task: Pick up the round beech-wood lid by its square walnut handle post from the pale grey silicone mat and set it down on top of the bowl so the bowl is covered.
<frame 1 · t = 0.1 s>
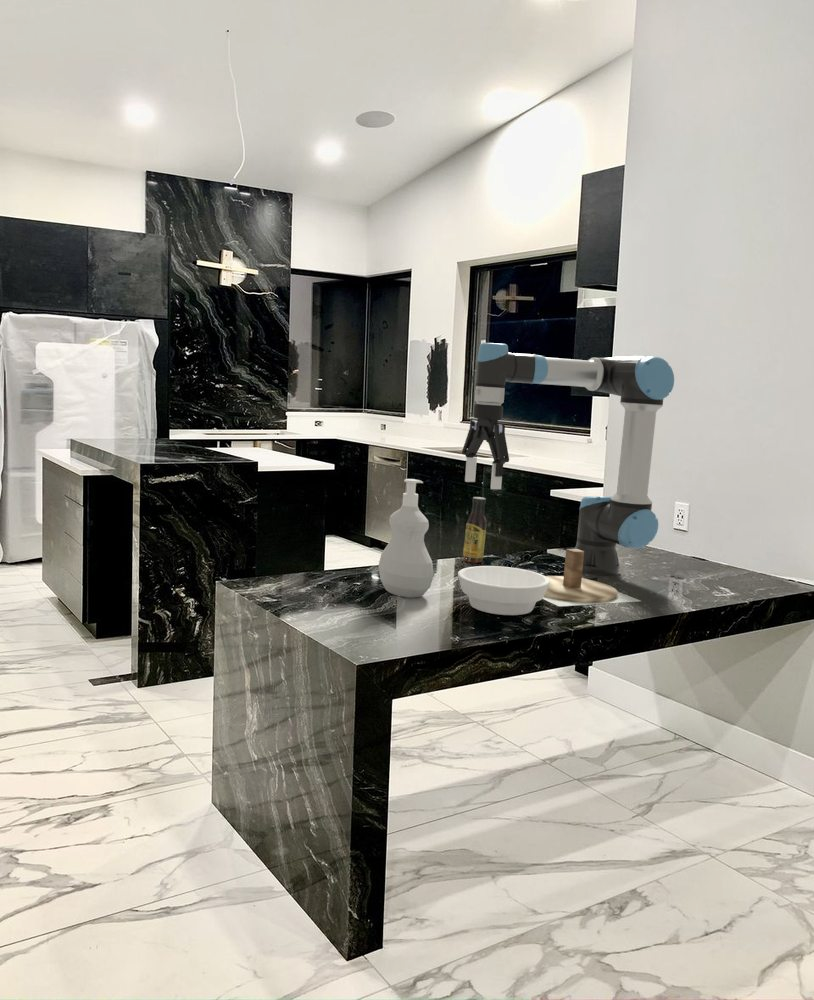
hand: (482, 485, 226), 28 cm above the countertop, fingers open, 13 cm apart
mat: (571, 593, 232), on the countertop
sauce bottle: (473, 562, 265), on the countertop
soap bottle: (404, 594, 220), on the countertop
bowl: (500, 610, 212), on the countertop
lid: (571, 590, 232), point 1 cm above the countertop, touching mat
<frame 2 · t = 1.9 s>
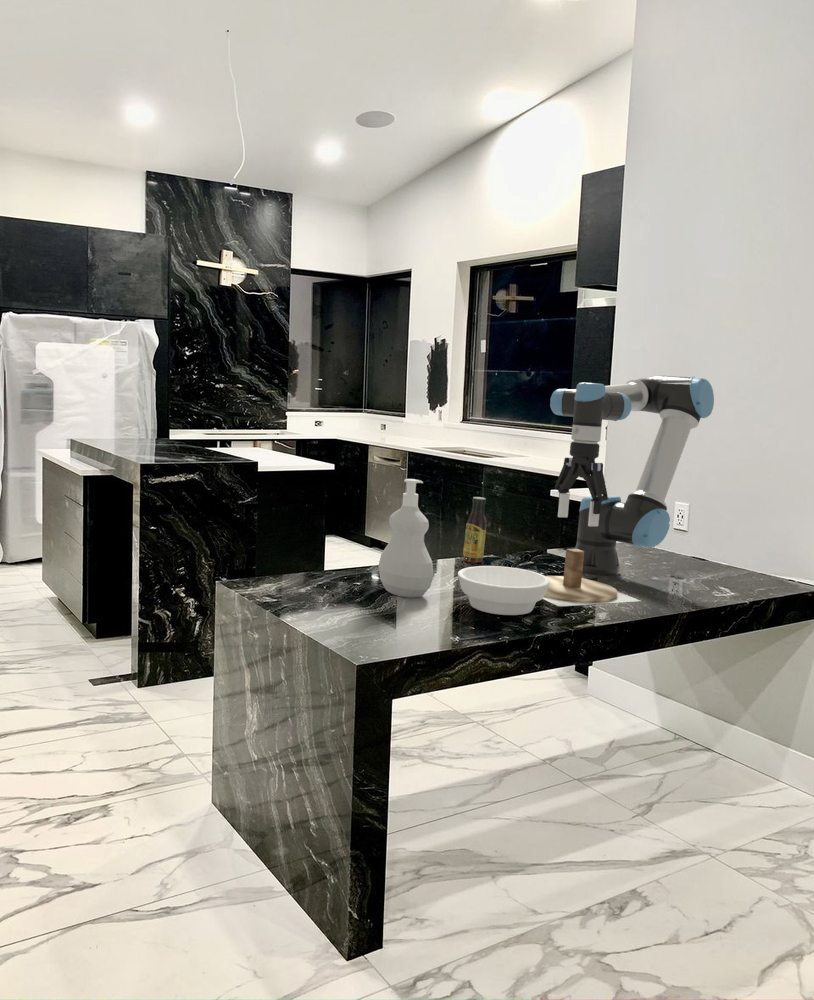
hand: (577, 521, 229), 20 cm above the countertop, fingers open, 13 cm apart
nothing on the countertop moved.
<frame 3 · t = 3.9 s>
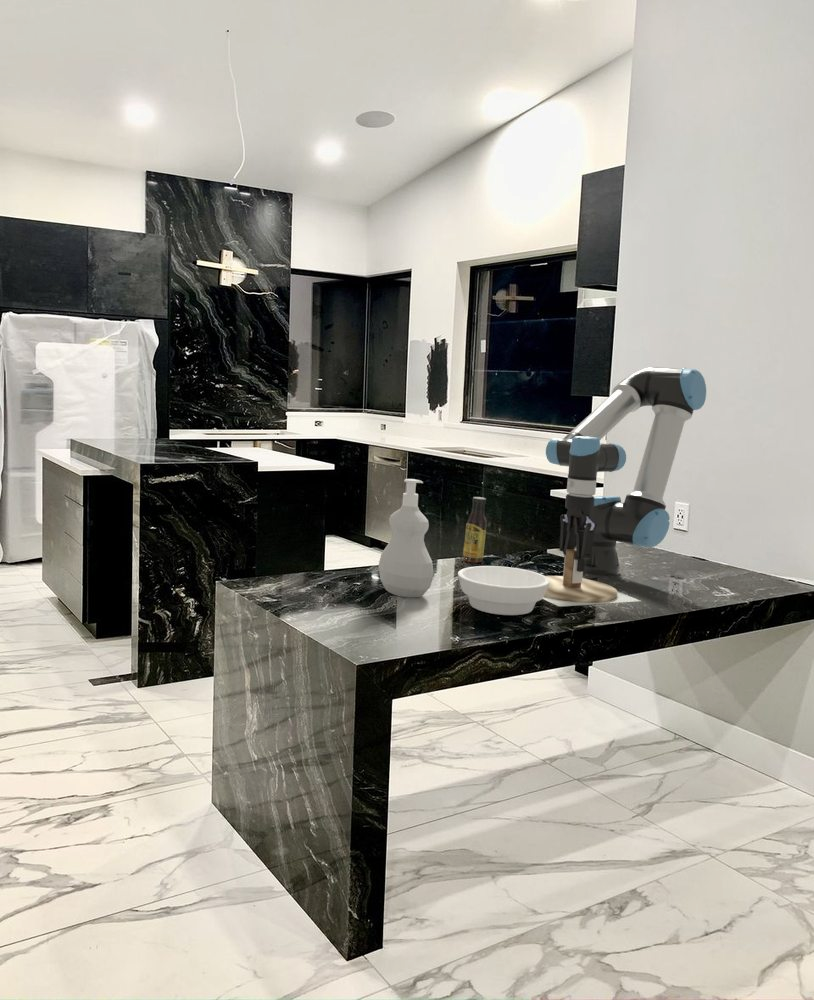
hand: (572, 580, 232), 3 cm above the countertop, fingers closed on lid, 3 cm apart
lid: (571, 590, 232), point 1 cm above the countertop, touching gripper, mat
everything else where it was.
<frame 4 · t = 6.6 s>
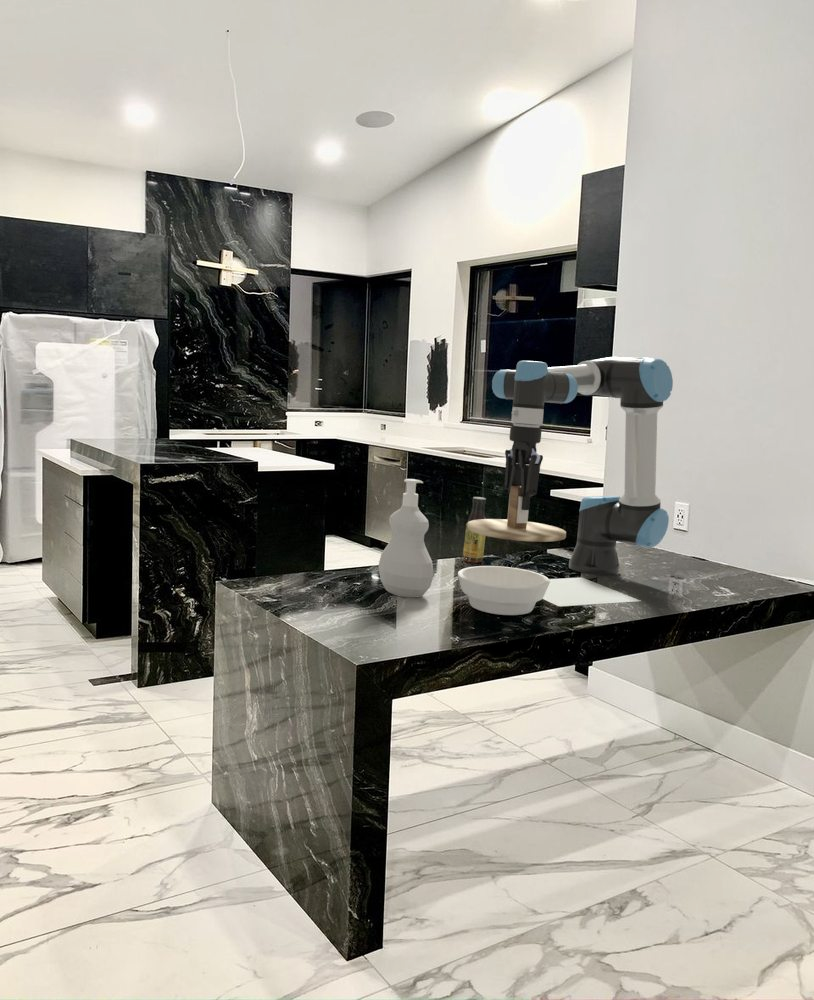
hand: (517, 521, 211), 22 cm above the countertop, fingers closed on lid, 3 cm apart
lid: (516, 532, 211), point 19 cm above the countertop, touching gripper
everything else where it was.
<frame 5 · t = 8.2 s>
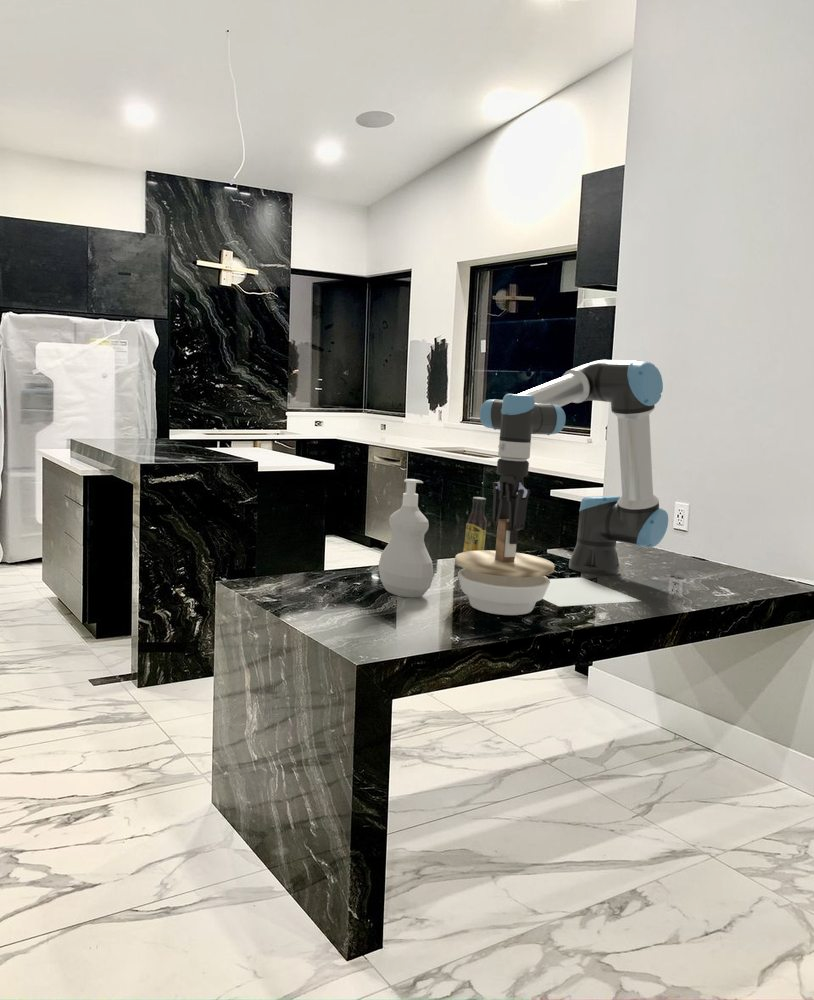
hand: (505, 554, 210), 14 cm above the countertop, fingers closed on lid, 3 cm apart
lid: (504, 565, 210), point 11 cm above the countertop, touching gripper
everything else where it was.
when the fingers open (12 cm above the countertop, at t = 9.4 s): lid drops 1 cm, resting on bowl.
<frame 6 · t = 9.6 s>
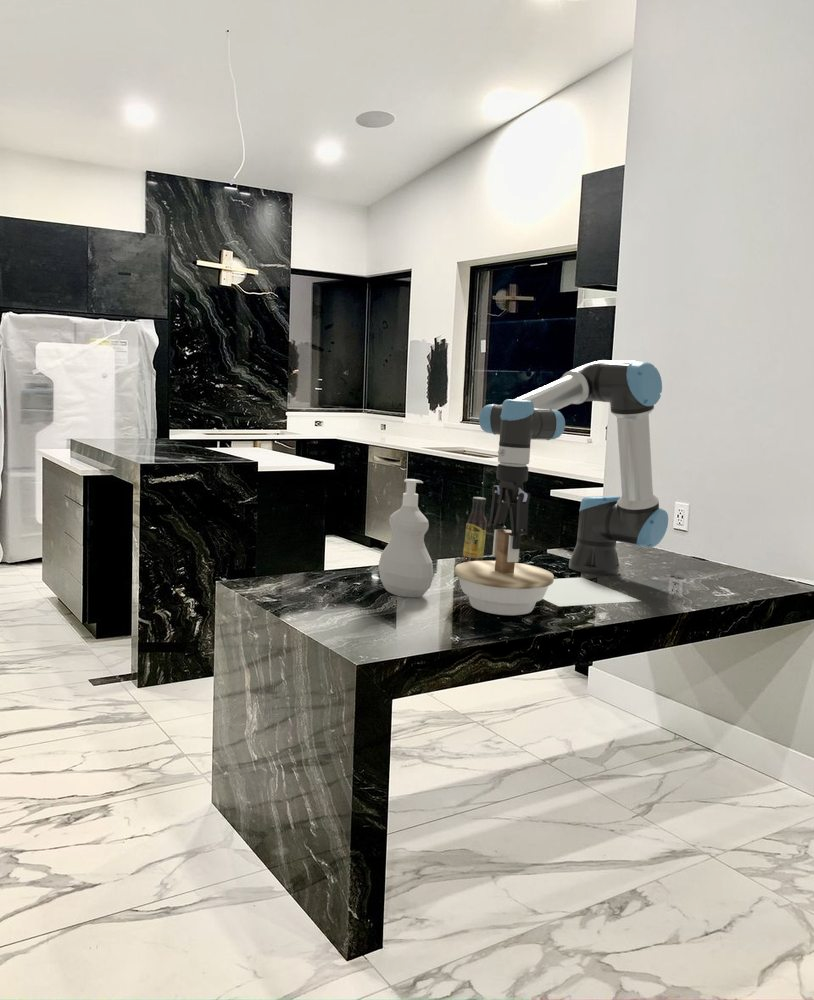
hand: (505, 558, 210), 13 cm above the countertop, fingers open, 6 cm apart
bowl: (501, 610, 212), on the countertop, touching lid
lid: (503, 576, 210), point 8 cm above the countertop, touching bowl
everything else where it was.
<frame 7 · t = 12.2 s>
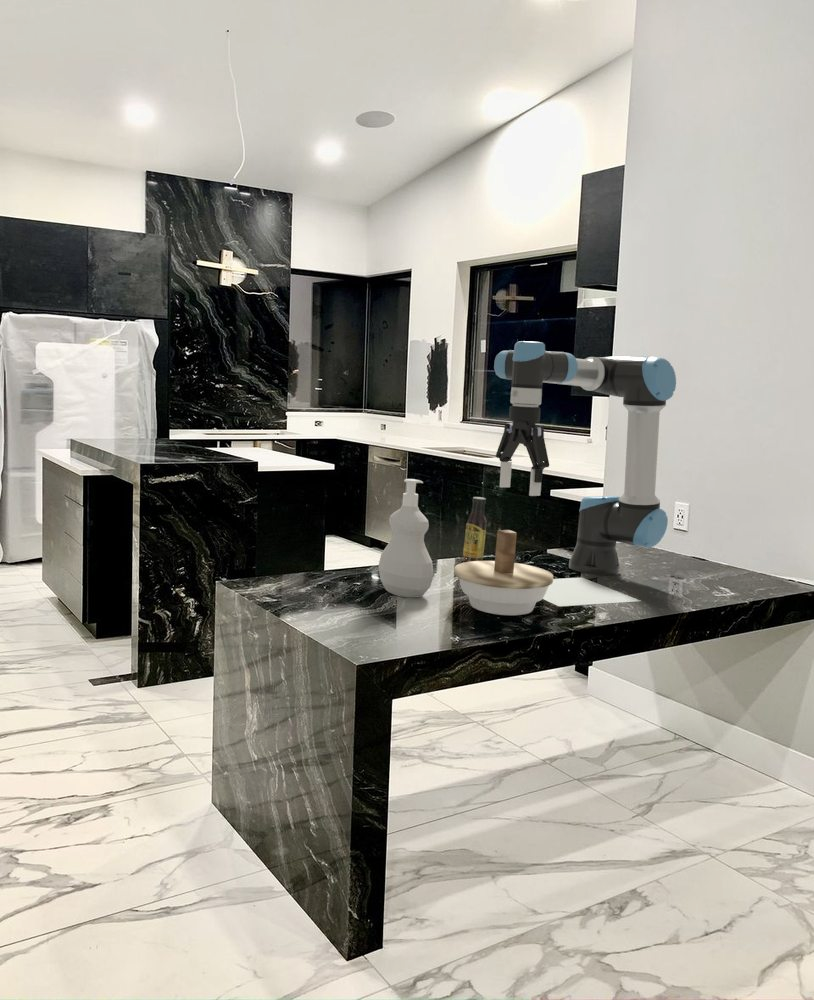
hand: (519, 491, 214), 28 cm above the countertop, fingers open, 13 cm apart
nothing on the countertop moved.
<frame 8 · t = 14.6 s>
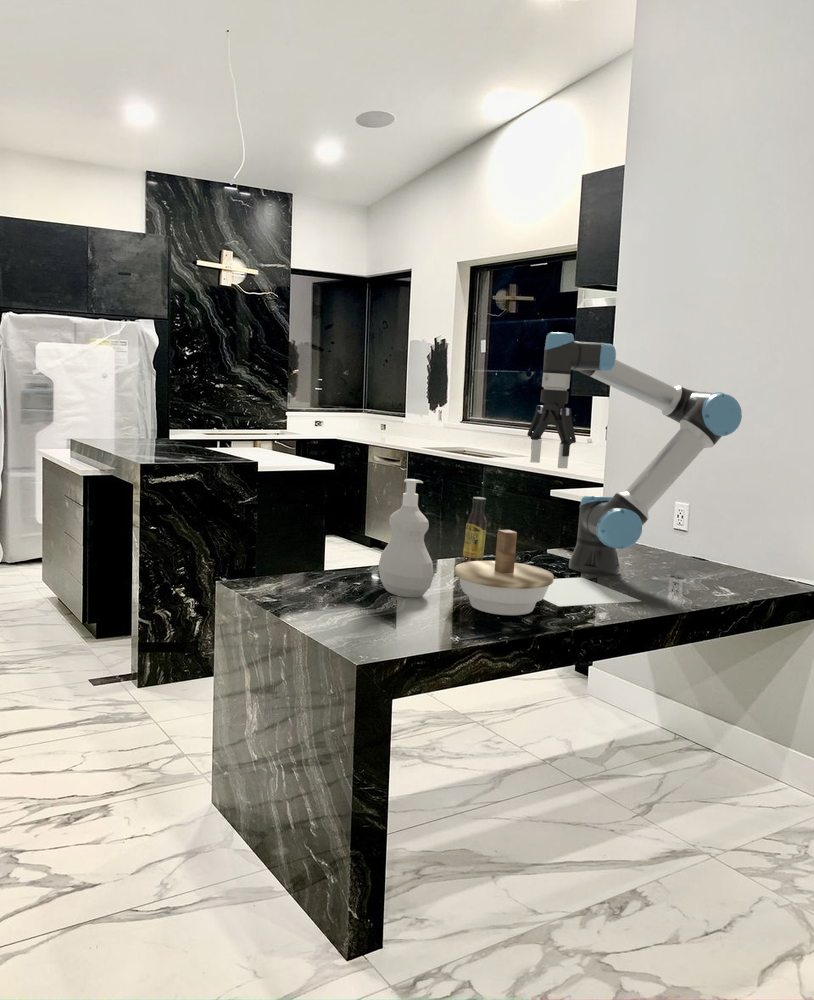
hand: (548, 465, 242), 33 cm above the countertop, fingers open, 13 cm apart
nothing on the countertop moved.
at the end: lid inside the target area in the bowl (0.1 cm from its centre), point 8.5 cm above the bowl's base; lid tilted 0°; the gripper is holding nothing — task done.
